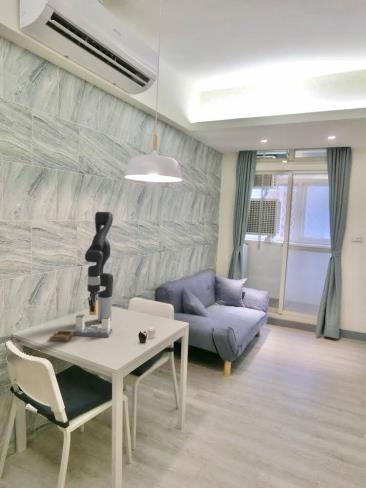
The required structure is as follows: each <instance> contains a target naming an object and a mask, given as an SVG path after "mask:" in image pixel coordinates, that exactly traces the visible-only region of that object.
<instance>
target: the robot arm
mask: <svg viewBox="0 0 366 488" xmlns="http://www.w3.org/2000/svg"><path fill="white" fill-rule="evenodd" d="M94 215H95V216H94V225H95V234H94V236H93V238H92V242H91V245H89V247H88V249H87V250H86V252H85V254H84V260H85V261H86V262H87V263H95V265H90V266H88V269H87V281H86V282H87V285H86V286H87V290H86V291H87V292H89V297H87V299H88V306H90V311H91V312H94V305H95V301H96V299H98V313H97V322H99V323H102V317H103V316H110V322H111V321H112V310H113V308H112V305H113V304H112V303H113V291H114V290H113V287H114V276H113V274H112V273H108V272H107V273H106V272H104V267H105V264H106V263H107V262H108V259H109V258H110V256H111V244H110V242H109V240H108V238H107V235H108V233H109V231H110V229H111V227H112V225H113V222H114V217H113V213H112V212H111V211H97V212H95V214H94ZM102 226H103V227H102ZM101 287H102V288H103V287H104V288H105V289H104V290H101ZM93 300H94V301H93ZM91 303H92V304H91Z"/></svg>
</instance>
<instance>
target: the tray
mask: <svg viewBox="0 0 366 488" xmlns="http://www.w3.org/2000/svg"><path fill="white" fill-rule="evenodd" d="M73 337H75V335H74V330H73V331H68V330H57V331H55V332H54V333H53V334H52V335H51V336H49V341H50V342H62V343H68V342H69V341H70V340H71V339H72V338H73Z"/></svg>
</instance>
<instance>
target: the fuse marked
mask: <svg viewBox="0 0 366 488" xmlns="http://www.w3.org/2000/svg"><path fill="white" fill-rule="evenodd" d="M93 301H94V300H93ZM91 304H92V303H91ZM88 306H89V305H88ZM88 310H89V311H88V315H89V316H97V315H98V299H96V301H95V305H94V312H91V311H90V306H89V307H88Z"/></svg>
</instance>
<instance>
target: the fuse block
mask: <svg viewBox="0 0 366 488" xmlns="http://www.w3.org/2000/svg"><path fill="white" fill-rule="evenodd" d="M85 315H86V314H80V313H79V314H77V315H76V316H75V327H74V330H73V331H74V336H79V337H80V336H84V337H98V338H109V337H110V336H111V335H112V334H113V328H111V321H110V316H103V317H102V322H101V327H99V325H96V324H95V325H94V324H91V325H90V327H89V326H87V327H86V325H87V324H86V323H85V322H86V320H85V319H86V316H85Z"/></svg>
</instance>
